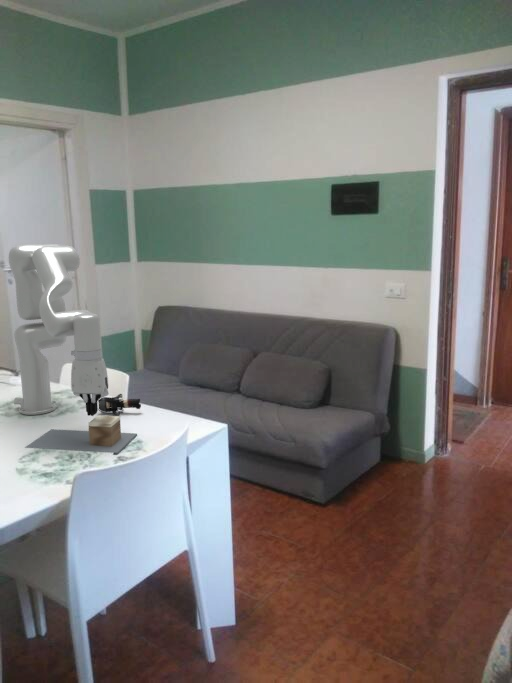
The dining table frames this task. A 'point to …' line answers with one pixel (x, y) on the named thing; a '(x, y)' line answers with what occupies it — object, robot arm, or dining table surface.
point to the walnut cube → (104, 430)
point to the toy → (117, 404)
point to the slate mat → (78, 441)
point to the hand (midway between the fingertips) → (92, 414)
